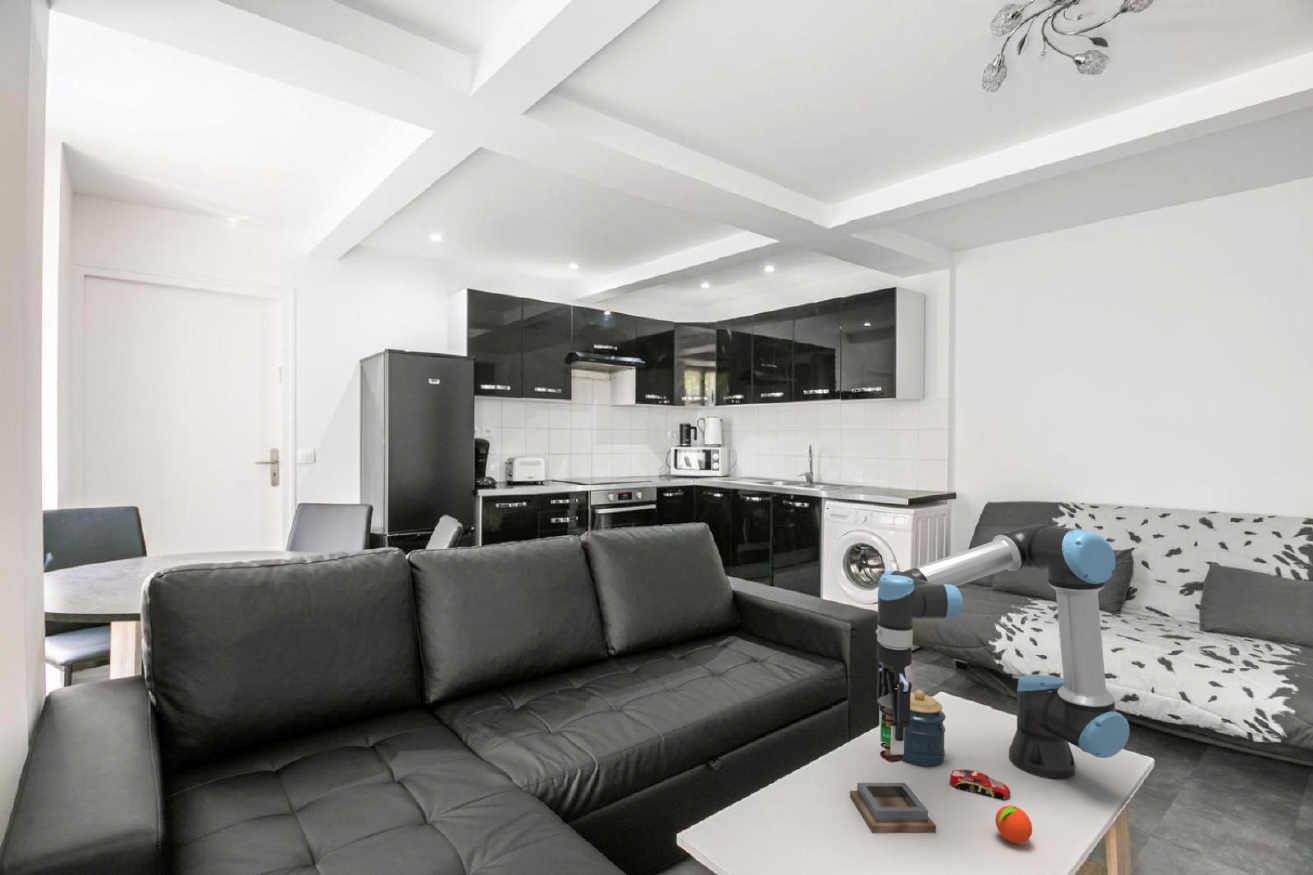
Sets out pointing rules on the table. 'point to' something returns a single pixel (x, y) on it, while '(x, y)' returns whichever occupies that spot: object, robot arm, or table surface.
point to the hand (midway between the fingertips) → (891, 747)
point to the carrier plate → (896, 826)
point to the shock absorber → (887, 729)
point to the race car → (979, 784)
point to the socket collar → (892, 814)
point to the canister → (924, 731)
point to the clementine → (1013, 824)
